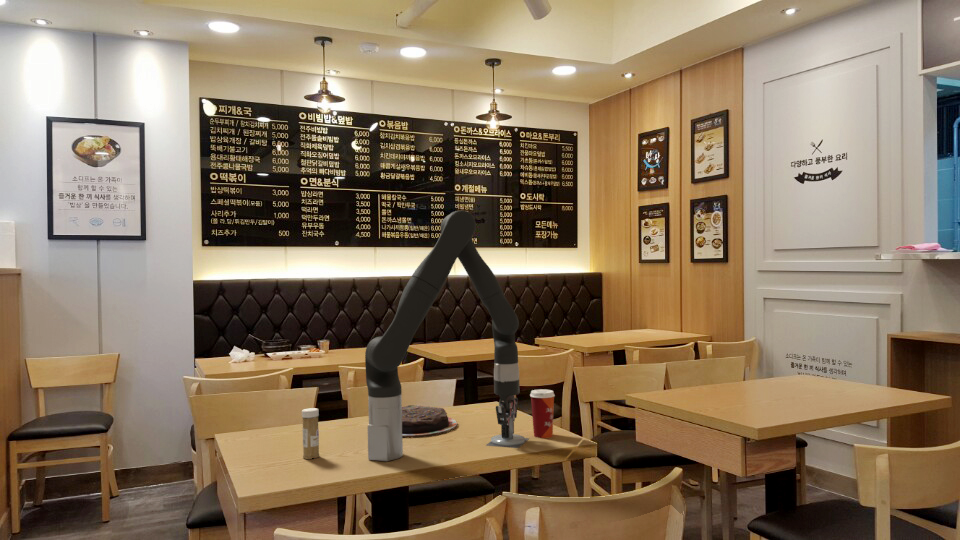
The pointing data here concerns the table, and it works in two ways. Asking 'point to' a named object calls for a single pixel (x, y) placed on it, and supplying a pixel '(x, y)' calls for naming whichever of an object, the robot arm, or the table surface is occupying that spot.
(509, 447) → the mat
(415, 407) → the chocolate cake
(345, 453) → the table surface
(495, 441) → the lid
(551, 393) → the paper cup
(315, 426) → the sprinkles bottle
